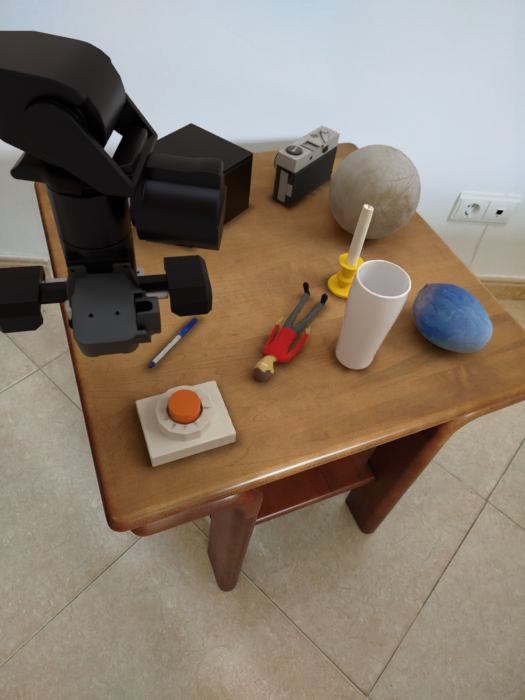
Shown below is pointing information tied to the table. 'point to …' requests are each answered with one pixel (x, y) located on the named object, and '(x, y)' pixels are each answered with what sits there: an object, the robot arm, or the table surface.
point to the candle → (351, 257)
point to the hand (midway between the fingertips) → (118, 348)
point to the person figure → (286, 337)
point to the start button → (184, 406)
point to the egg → (451, 318)
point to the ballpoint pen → (174, 341)
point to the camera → (304, 165)
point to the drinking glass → (371, 311)
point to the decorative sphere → (375, 189)
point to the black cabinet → (208, 145)
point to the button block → (185, 425)
